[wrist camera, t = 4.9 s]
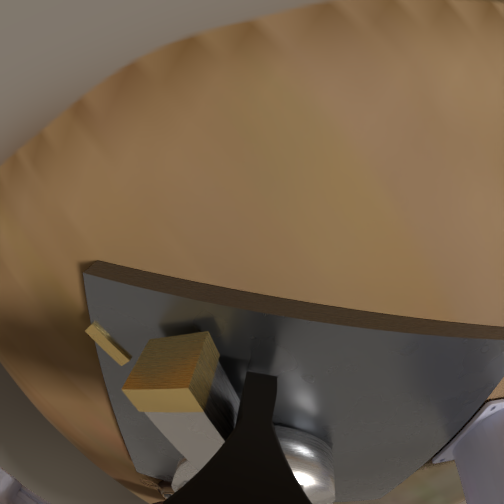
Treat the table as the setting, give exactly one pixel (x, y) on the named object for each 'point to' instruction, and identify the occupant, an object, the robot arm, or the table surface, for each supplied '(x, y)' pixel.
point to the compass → (162, 488)
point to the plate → (303, 370)
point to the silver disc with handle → (211, 412)
